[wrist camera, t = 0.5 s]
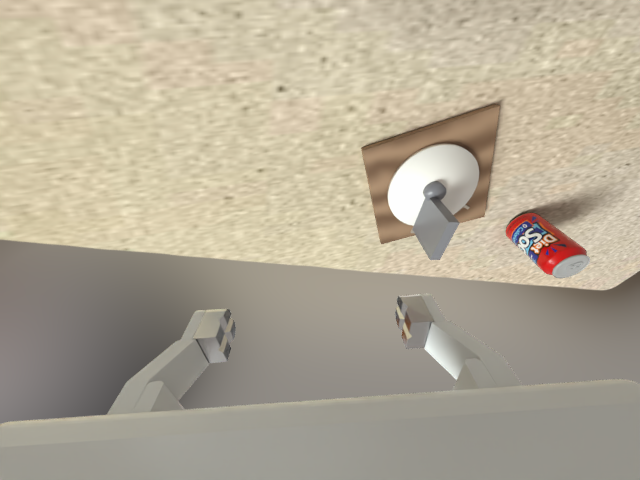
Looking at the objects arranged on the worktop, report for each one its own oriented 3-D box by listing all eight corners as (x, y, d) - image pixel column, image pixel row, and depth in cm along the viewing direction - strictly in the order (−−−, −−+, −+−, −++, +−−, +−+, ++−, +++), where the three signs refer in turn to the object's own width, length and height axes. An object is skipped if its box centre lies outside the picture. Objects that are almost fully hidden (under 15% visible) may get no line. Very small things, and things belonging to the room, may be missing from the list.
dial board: (361, 147, 47) (363, 151, 45) (494, 104, 43) (501, 106, 42) (379, 240, 62) (381, 244, 60) (480, 213, 58) (485, 217, 57)
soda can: (536, 229, 62) (590, 272, 51) (503, 240, 64) (547, 285, 53) (538, 205, 58) (598, 247, 46) (502, 218, 60) (551, 262, 48)
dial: (401, 139, 45) (425, 163, 36) (493, 147, 46) (537, 171, 38) (377, 225, 56) (390, 258, 48) (451, 228, 58) (477, 260, 50)
